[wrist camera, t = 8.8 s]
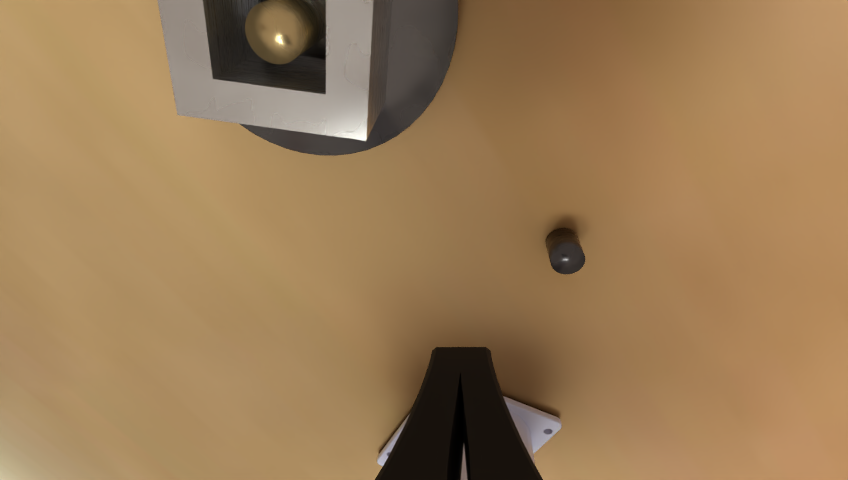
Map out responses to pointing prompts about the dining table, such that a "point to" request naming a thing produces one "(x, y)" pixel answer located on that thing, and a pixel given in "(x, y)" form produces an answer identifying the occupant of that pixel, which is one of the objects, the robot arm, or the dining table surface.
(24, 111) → the dining table surface
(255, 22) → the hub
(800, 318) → the dining table surface
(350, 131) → the collar
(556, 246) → the stand stub
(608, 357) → the dining table surface
